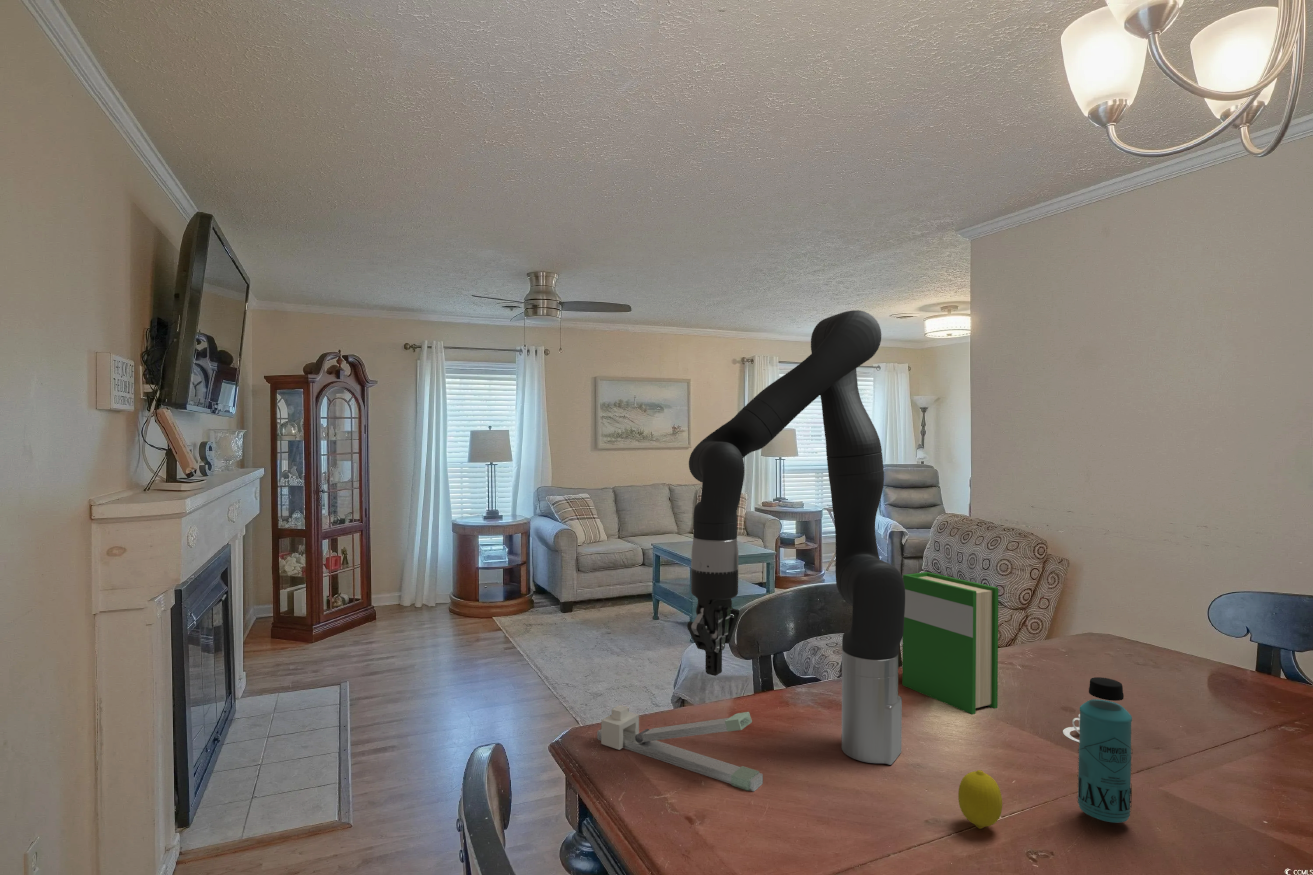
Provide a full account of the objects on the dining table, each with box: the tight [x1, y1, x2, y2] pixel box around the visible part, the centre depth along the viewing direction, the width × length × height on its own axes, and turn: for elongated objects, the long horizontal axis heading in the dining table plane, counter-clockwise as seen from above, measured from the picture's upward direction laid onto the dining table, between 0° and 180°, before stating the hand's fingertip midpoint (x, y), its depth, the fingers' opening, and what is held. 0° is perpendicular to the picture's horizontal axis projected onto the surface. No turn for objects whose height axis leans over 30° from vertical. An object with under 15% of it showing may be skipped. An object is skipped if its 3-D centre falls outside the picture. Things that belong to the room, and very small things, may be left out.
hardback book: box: [901, 571, 999, 715], centre depth 145 cm, size 18×7×24 cm, turn 27°
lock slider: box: [600, 704, 640, 751], centre depth 123 cm, size 4×6×6 cm
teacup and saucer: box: [1062, 713, 1080, 743], centre depth 126 cm, size 9×8×4 cm
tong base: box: [596, 728, 764, 792], centre depth 116 cm, size 31×4×3 cm, turn 55°
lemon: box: [957, 769, 1003, 830], centre depth 97 cm, size 6×6×8 cm
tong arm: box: [642, 711, 753, 742], centre depth 114 cm, size 20×4×2 cm, turn 55°
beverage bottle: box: [1076, 676, 1133, 824], centre depth 98 cm, size 6×7×20 cm
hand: (713, 673), depth 112 cm, fingers closed
